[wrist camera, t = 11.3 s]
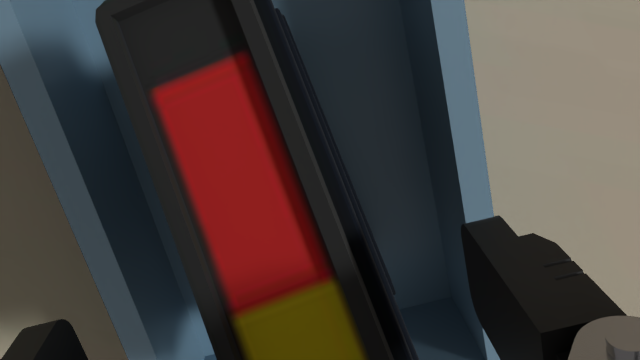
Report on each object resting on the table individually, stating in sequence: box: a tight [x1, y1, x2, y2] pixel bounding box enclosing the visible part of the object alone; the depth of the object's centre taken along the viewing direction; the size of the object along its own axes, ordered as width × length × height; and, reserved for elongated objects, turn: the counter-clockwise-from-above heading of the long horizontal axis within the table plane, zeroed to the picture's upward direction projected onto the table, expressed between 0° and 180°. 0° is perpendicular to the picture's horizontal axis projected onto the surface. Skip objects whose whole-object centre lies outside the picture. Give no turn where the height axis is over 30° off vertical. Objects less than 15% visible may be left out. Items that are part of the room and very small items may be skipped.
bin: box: [0, 0, 500, 360], centre depth 22 cm, size 21×14×6 cm, turn 13°
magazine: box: [95, 0, 419, 360], centre depth 18 cm, size 4×13×15 cm, turn 22°
